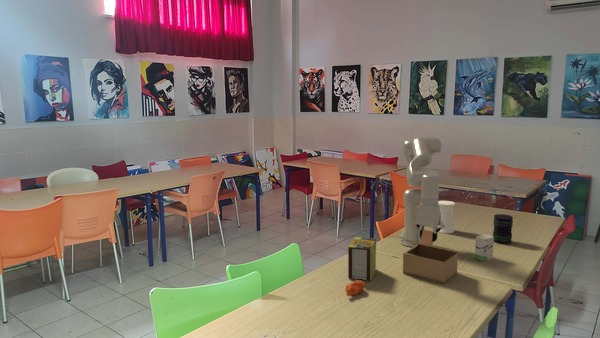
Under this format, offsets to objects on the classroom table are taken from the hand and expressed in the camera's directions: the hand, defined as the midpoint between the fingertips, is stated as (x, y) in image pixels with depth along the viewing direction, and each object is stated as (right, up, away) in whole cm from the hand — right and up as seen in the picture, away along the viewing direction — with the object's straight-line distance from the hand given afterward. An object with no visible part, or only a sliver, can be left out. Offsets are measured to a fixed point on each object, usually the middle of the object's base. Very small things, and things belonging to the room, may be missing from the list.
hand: (428, 239), depth 203 cm
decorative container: (+31, -6, +71) cm, 78 cm away
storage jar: (+57, -9, +50) cm, 76 cm away
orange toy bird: (-36, -21, -15) cm, 44 cm away
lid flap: (+3, -4, +4) cm, 6 cm away
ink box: (+35, -14, +23) cm, 45 cm away
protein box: (-30, -17, +6) cm, 35 cm away
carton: (+2, -17, +5) cm, 18 cm away
